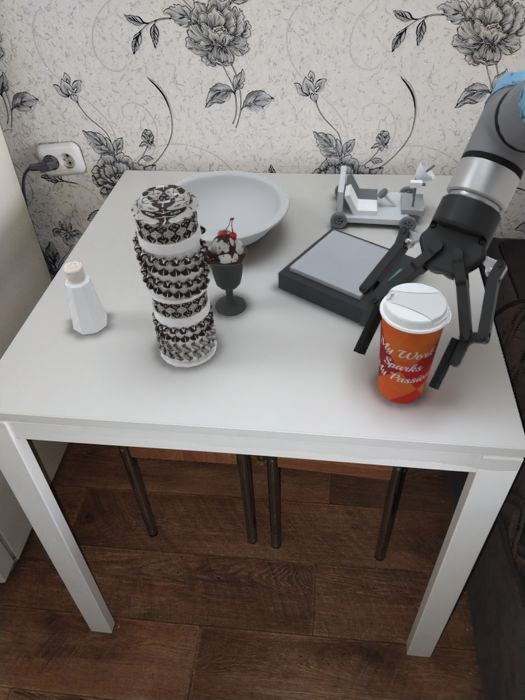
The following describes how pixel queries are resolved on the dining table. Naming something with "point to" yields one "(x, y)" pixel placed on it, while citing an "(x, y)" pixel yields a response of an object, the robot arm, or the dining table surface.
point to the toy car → (380, 201)
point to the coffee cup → (409, 339)
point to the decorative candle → (175, 273)
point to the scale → (336, 272)
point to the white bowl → (236, 203)
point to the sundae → (227, 269)
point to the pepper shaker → (83, 300)
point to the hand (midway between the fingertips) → (395, 370)
